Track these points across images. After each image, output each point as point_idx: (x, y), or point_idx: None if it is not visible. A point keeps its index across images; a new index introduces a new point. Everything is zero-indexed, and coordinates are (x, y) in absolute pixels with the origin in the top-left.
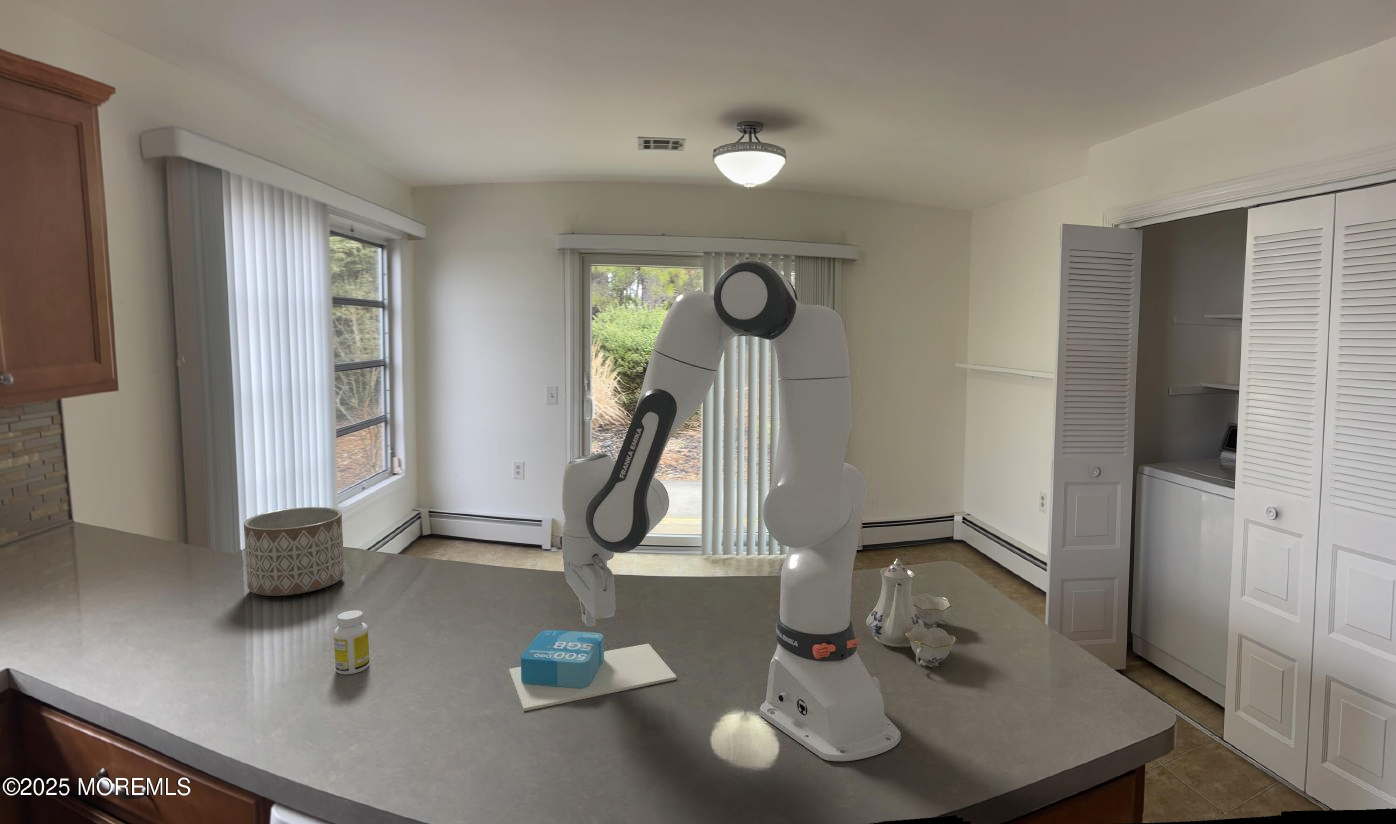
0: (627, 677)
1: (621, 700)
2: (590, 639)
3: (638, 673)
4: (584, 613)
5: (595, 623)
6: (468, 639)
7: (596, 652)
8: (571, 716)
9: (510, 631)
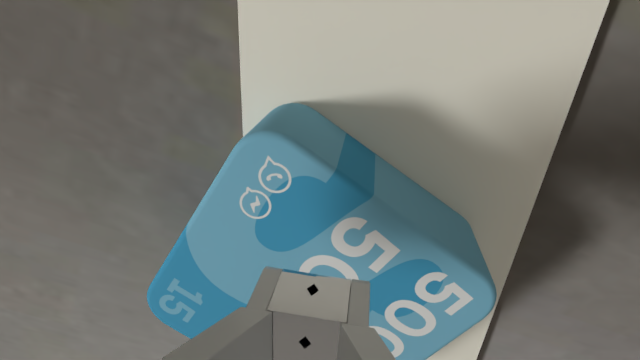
0: (499, 77)
1: (615, 156)
2: (296, 204)
3: (500, 17)
4: (284, 357)
5: (368, 289)
6: (58, 346)
7: (405, 210)
8: (577, 306)
9: (19, 265)
